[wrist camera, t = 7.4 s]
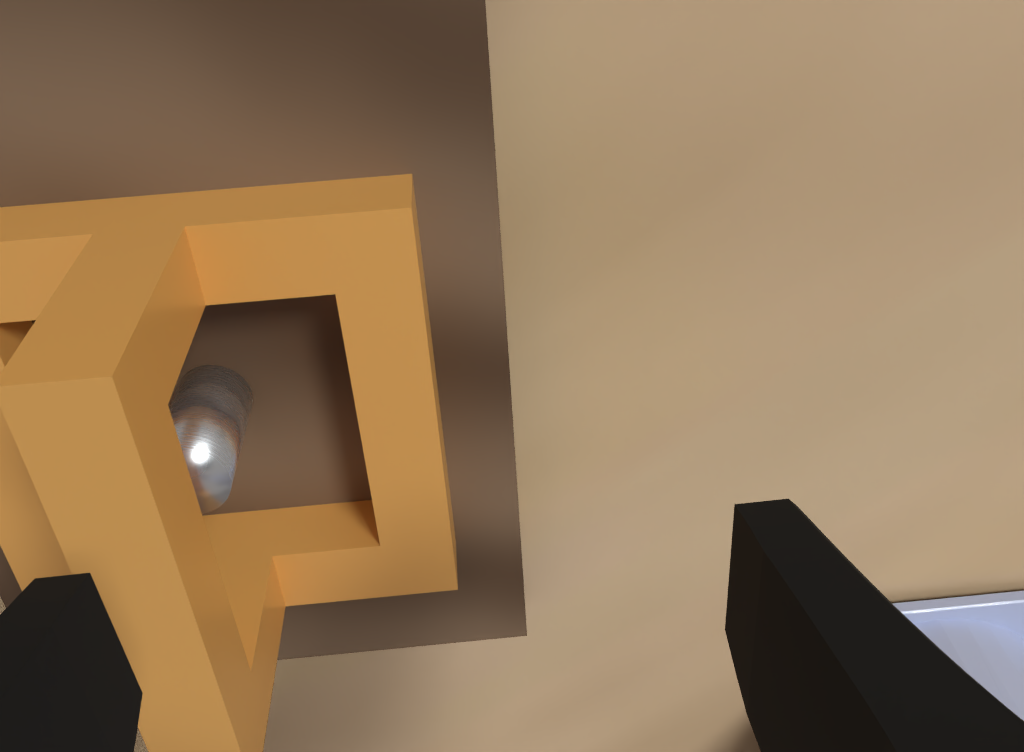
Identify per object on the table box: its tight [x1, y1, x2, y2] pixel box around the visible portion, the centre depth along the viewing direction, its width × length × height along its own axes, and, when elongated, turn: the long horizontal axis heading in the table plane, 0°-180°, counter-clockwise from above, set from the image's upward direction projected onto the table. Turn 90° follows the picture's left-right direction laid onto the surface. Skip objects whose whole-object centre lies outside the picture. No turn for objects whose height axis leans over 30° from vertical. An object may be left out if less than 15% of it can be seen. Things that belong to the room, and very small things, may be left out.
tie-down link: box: [0, 174, 458, 752], centre depth 17 cm, size 9×9×6 cm
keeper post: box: [169, 365, 253, 514], centre depth 19 cm, size 2×2×3 cm
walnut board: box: [0, 0, 527, 660], centre depth 19 cm, size 18×12×1 cm, turn 3°
